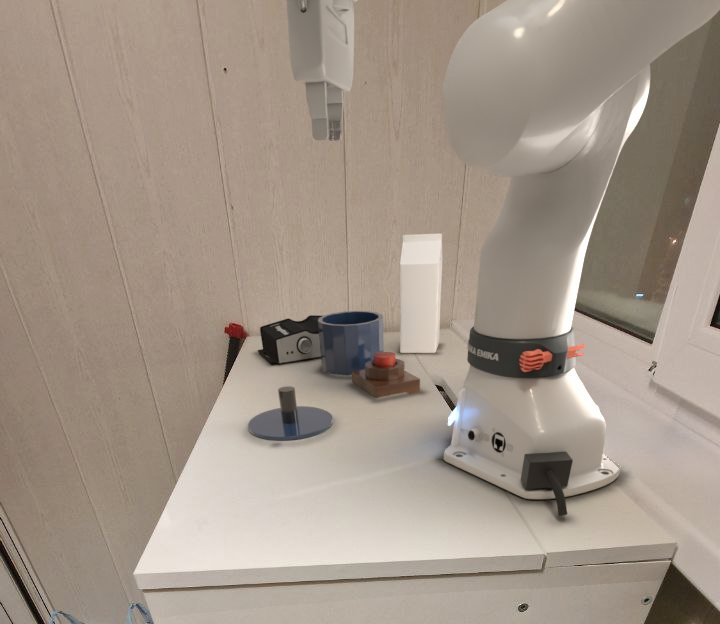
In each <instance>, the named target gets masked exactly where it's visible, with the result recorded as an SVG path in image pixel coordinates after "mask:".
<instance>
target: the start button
mask: <svg viewBox="0 0 720 624" xmlns="http://www.w3.org/2000/svg"><path fill="white" fill-rule="evenodd" d="M396 359H397V357H396V352H393V351H384V352H379V353H376V354H374V366H375V367H391V366H395V365H396Z"/></svg>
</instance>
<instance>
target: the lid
mask: <svg viewBox="0 0 720 624" xmlns="http://www.w3.org/2000/svg"><path fill="white" fill-rule="evenodd" d="M277 394H278V401H279V408H274V409H269V410H266V411H264V412H261V413H259V414H257V415H255V416H254V417H251V419H250V420H249V421H248V424H247V428H248V431H249V433H250V434H251V435H253V436H254V437H257V438H259V439H264V440H268V441H269V440H270V441H293V440H302V439H306V438H310V437H315V436H317V435H319V434H321V433H322V434H323V432H325V431H328V429H329V428H331V426H332V425H333V422H334V420H333V419H334V418H333V415H332V414H331V413H330V412H329V411H327V410H325V409H323V408H320V407H315V406H306V405H305V406H304V405H302V406H301V405H297V396H296V389H295V387H294V386H290V385H289V386H282V387H279V388H278V389H277Z"/></svg>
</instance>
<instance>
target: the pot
mask: <svg viewBox="0 0 720 624" xmlns="http://www.w3.org/2000/svg"><path fill="white" fill-rule="evenodd" d="M321 316H322V317H320V318H319V319H318V328H319V339H320V351H321V358H320V360H321V362H320V363H321V370H322V373H323V374H332V375H337V376H338V375H339V376H352V372H353V371H359V370H364V369H365V364H366V362H369V361H371V360H374V354H376V353H379V352H385V349H384V345H385V343H384V317H383V316H384V315H383V314H381V313H379V312H376V311H369V310H347V311H345V310H344V311H338V312H331V313H328V314H323V315H321Z"/></svg>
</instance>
